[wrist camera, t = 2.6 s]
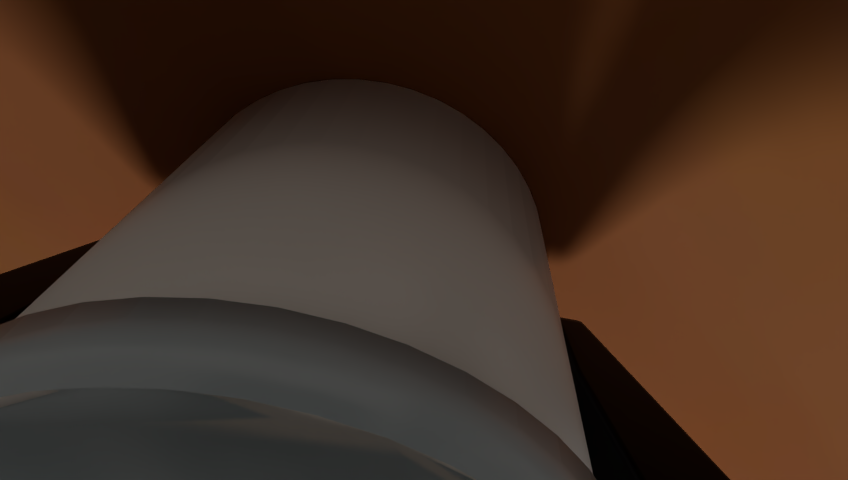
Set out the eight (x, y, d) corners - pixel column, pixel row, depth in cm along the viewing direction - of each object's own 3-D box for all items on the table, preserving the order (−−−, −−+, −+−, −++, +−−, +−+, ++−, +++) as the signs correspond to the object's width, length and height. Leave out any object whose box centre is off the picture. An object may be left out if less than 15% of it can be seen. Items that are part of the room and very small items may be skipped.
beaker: (607, 115, 8) (834, 483, 3) (500, 419, 11) (523, 845, 6) (163, 28, 8) (-386, 264, 3) (182, 362, 11) (-61, 754, 6)
